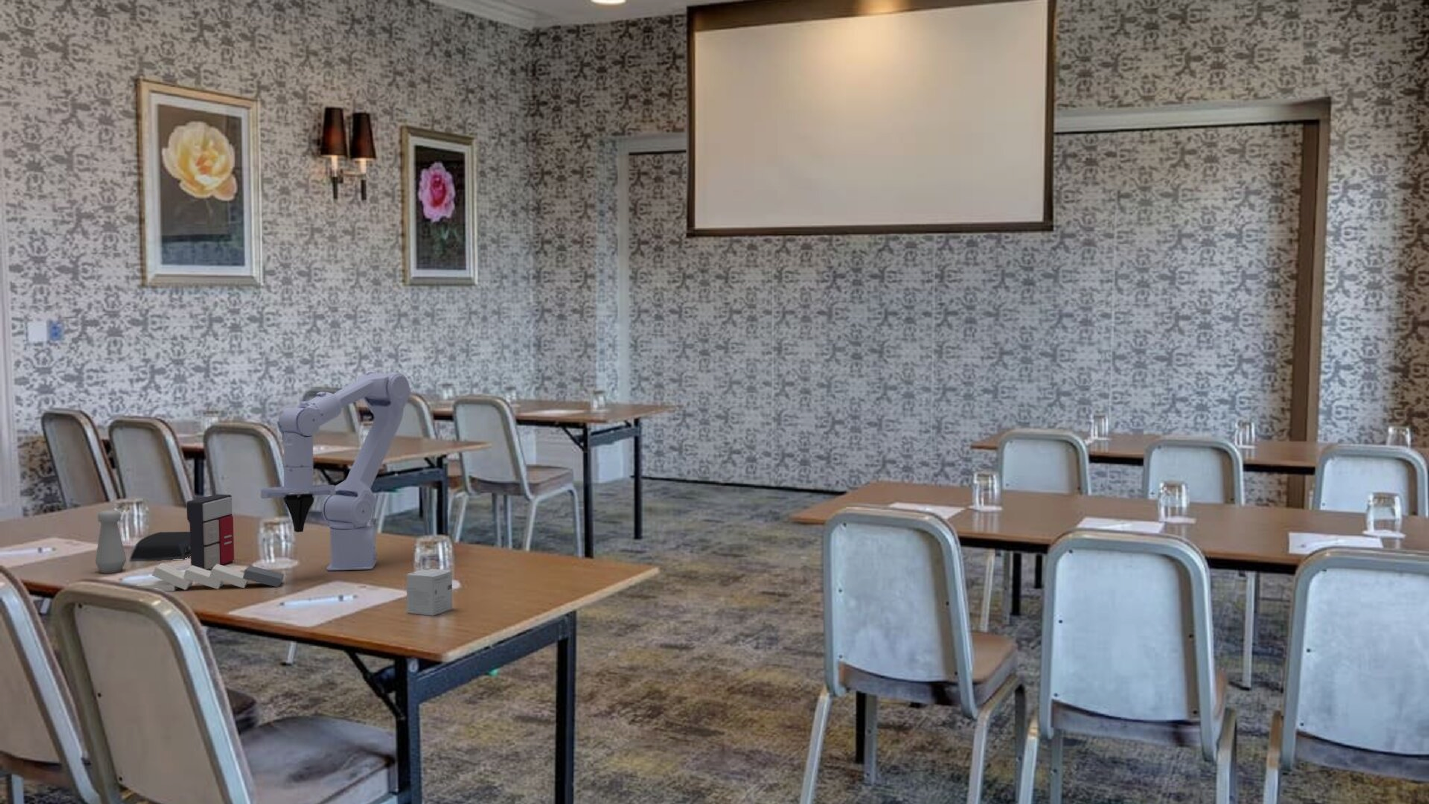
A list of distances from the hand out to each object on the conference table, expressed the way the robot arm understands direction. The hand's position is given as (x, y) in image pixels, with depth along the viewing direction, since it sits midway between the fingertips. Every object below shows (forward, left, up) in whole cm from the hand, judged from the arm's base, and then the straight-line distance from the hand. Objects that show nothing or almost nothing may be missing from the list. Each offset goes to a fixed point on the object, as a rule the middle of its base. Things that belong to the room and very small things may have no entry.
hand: (298, 531), depth 250 cm
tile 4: (+20, +6, -9) cm, 23 cm away
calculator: (+21, -15, -10) cm, 28 cm away
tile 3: (+14, +5, -9) cm, 18 cm away
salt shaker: (+41, -13, -10) cm, 44 cm away
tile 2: (+9, +5, -9) cm, 14 cm away
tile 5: (+23, +5, -10) cm, 25 cm away
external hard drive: (+34, -33, -11) cm, 49 cm away
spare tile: (+3, +5, -9) cm, 11 cm away
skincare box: (-28, +32, -10) cm, 44 cm away
